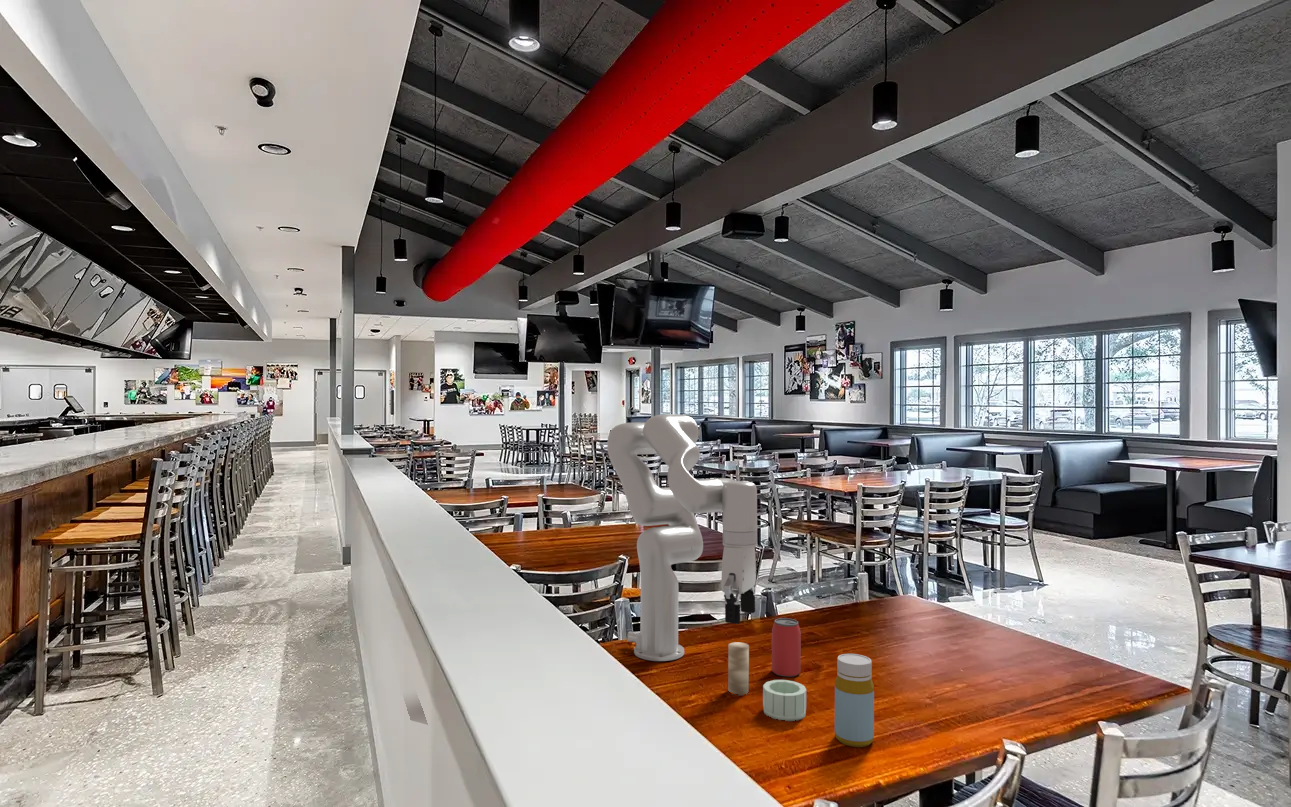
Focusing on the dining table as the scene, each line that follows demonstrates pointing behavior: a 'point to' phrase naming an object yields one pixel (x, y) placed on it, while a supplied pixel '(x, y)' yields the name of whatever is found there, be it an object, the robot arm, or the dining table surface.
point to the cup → (784, 700)
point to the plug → (738, 668)
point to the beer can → (786, 647)
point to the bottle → (854, 701)
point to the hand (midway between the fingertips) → (740, 617)
